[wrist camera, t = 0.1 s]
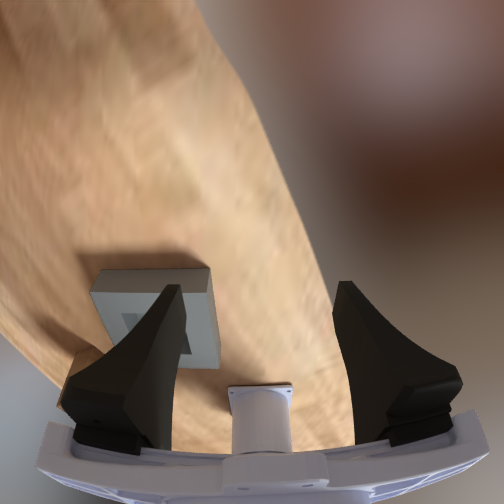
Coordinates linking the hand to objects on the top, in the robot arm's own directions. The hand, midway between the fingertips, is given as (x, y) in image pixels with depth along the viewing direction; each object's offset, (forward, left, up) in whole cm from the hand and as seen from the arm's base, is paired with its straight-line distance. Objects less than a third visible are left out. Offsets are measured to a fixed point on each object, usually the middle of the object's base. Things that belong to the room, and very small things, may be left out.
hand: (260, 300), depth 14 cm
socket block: (-11, +9, -10) cm, 17 cm away
